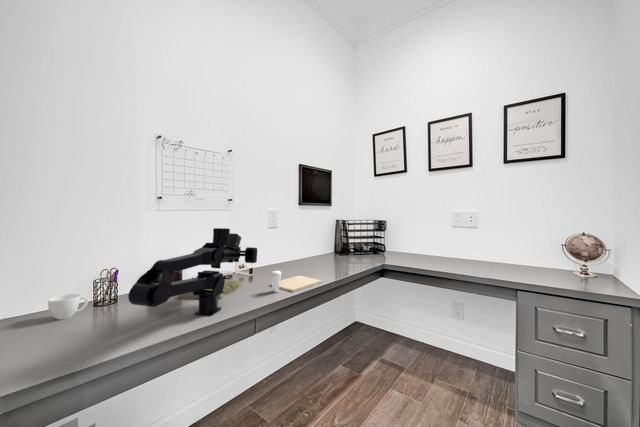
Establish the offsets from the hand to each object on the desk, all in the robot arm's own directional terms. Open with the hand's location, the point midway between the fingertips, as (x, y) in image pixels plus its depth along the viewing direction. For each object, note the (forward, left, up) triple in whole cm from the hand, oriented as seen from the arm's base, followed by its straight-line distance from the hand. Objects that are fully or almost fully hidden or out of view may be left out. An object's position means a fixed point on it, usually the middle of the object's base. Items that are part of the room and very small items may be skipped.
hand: (246, 253), depth 119 cm
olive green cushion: (-3, +14, -17) cm, 23 cm away
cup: (-37, +47, -17) cm, 62 cm away
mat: (+15, -19, -17) cm, 29 cm away
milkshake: (+2, -13, -17) cm, 21 cm away
